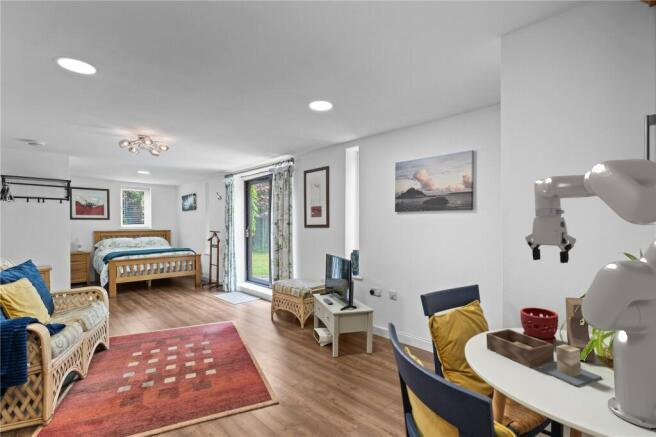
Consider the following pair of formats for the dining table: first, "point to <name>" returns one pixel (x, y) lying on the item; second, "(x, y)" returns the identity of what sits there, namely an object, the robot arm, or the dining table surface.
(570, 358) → the maple block
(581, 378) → the mat
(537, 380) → the dining table surface
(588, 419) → the dining table surface
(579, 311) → the decorative block
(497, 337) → the walnut box
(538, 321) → the plant pot
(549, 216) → the robot arm
